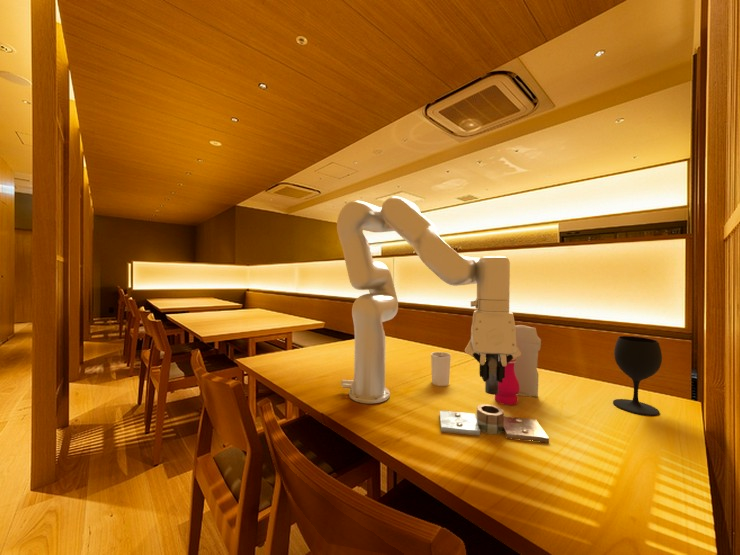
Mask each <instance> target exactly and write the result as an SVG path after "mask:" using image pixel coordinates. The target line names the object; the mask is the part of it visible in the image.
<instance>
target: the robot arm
mask: <svg viewBox="0 0 740 555" xmlns="http://www.w3.org/2000/svg"><path fill="white" fill-rule="evenodd" d="M336 230H337V235H338V236H337V237H338V239H339V242H340V245H341V248H342V249H341V250H342V253H343V257H344V262H345V267H346V271H347V275H348V280H349V283H350V285H351V286H352V287H353V289H355V290H358V291H368V292H369V293H366V294H362V295H359V297H357V298H356V299H355V300H354V302H353V304H352V306H351V316H352V321H353V330H354V364H353V366H354V376H353V378H354V379H353V378H352V379H349V380H348V379H341V382H340V384H341V385H340V386H342V389H349V392H348V396H349V398H350V399H351V400H353V401H354V402H357V403H360V404H368V405H369V404H379V403H384V402H385V401H388V399H389V398H390V395H391V392H390V390H389V388H387V387H386V334H385V329H384V325H383V323H385V322H387V321H390V320H393V319H395V318H394V317H396V315H397V313H398V311H399V301H398V296H397V292H396V289H395V288H396V287H395V284H394V281H393V277H392V276H393V275H392V273H391V271H390V269H389V268H388V266H387V265H386V264H385V263H383V261H380V260H374V258H373V255H372V252H371V248H370V244H369V242H368V240H367V238H366V236H365V235H364V232H363V231H366V232H371V233H388V232H389V233H390V232H396V233H397V234H398V235H399V236H400V237H401V238H402V239H403V240H404V241H405V242H407V243H408V245H410V246H411V247H412V248H413V250H414V252H415V253H416V255H417V257H418V258H419V259H420V260H421V261H422V263H423V264H424V265H425V266H426V267H427V268H428V269H429V270H431V272H433V274H434V275H436V277H438V278H439V279H440V280H441V281H443V282H444V283H445V284H448V285H449V286H454V287H457V286H467V285H474V284H476V299H475V300H472V301H470V307H474V308H475V309H476V310H474V311H473V314H472V319H471V328H470V339H469V341H468V343H467V345H466V346H465V349H464V352H465V353H466V354H467V355H469V356H471V357H473V358H474V359H475V360H476V362H477V363H479V372H478V374H479V377H481V379H482V381H483V382H484V383H485V382H486V381H487V365H486V354H499V370H498V381H499V382H500V383H502V382H503V378H505V366H506V365H507V363H509V362H510V361H511V360H512V359H513V358H516V357H518V356H520V355H521V352H520V351H519V349H518V347H517V345H516V330H515V326H516V322H515V317H514V313H513V312H512V311H510V284H511V282H510V277H511V276H510V275H511V274H510V272H511V271H510V270H511V268H510V267H511V263H510V262H511V261H510V259H509V258H508V257H506V256H503V255H496V256H495V255H486V256H480V257H471V256H466V255H460V254H459V252H457V251H456V250H455V249H454V248H452V247H451V246H450V245H449V244H448V243H447V242H446V241H445V240H444V239H442V238H441V237H440V234H438V232H437V226H436V225H435V223H434V222H432V221H431V220H430V219H429V218H427V217H426V216H425V215H424V214H422V213H421V210H420V208H419V207H418V206H417V205H416V203H414V202H412V201H410V200H408V199H406V198H403V197H400V196H391V197H389V198H387V199H386V200H385V201H384V202H383V203H382V205H381V206H378V205H375V204H372V203H369V202H366V201H362V200H352V201H349V202H347V203H346V204H345V205H343V207H342V208H341V209H340V211H339V214H338V216H337V221H336Z"/></svg>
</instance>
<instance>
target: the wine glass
mask: <svg viewBox="0 0 740 555" xmlns="http://www.w3.org/2000/svg"><path fill="white" fill-rule="evenodd" d="M660 345H661V344H660V342H659V341H658V340H656V339H652V338H649V337H648V338H647V337H641V336H632V335H619V336H618V338H617V340H616V342H615V346H614V354H613V355H614V362H615V363H616V365H617V366H618V368H619V369H620V370H621V372H623V373H624V374H625V375H626V376H627V377H629V378H630V379H631V380H632V382H633V383H632V384H633V395H632V396H633V398H632V399H627V398H626V399H625V398H617V399H616V398H615V399H613V400H612V403H613V406H615V407H616V408H618V409H620V410H622V411H625V412H628V413H631V414H634V415H635V414H636V415H639V416H646V417H655V416H659V415H660V410H659V409H658V408H656V407H655V406H653V405H650V404H648V403H646V402H641V401H640V400H639V385H640V382H641V381H644V380H646V379H648V378H651V377H652V376H654V375H656V373H657V372H658V371H659V370H660V368H661V365H662V362H663V361H662V360H663V354H662V348H661V346H660Z"/></svg>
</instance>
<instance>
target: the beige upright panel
mask: <svg viewBox="0 0 740 555" xmlns="http://www.w3.org/2000/svg"><path fill="white" fill-rule="evenodd" d="M515 330H516V344H517V346H518V349H519V351H520V352H521V355H520V356H518V357H516V362H515V363H514V372H515V376H516V378H517V380H518V382H519V388H520V390H519V392H518V393H517V394H516V396H522V397H530V396H531V397H532V398H538V397H539V372H538V364H539V363H538V360H539V359H538V357H539V351H540V350H541V347H542V346H541V345H542V343H541V342H542V338H540V337H539V336H538V332H537V328H536V327H531V326H528V325H525V324H524V325H523V324H518V325H516V324H515Z"/></svg>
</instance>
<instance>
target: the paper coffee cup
mask: <svg viewBox="0 0 740 555" xmlns="http://www.w3.org/2000/svg"><path fill="white" fill-rule="evenodd" d="M430 356H431V358H430V361H431V383H432V385H434V386H437V387H438V386H439V387H447V386H449V384H450V373H451V371H450V370H451V358H452V354H450V352H445V351H433V352H431V353H430Z"/></svg>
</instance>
